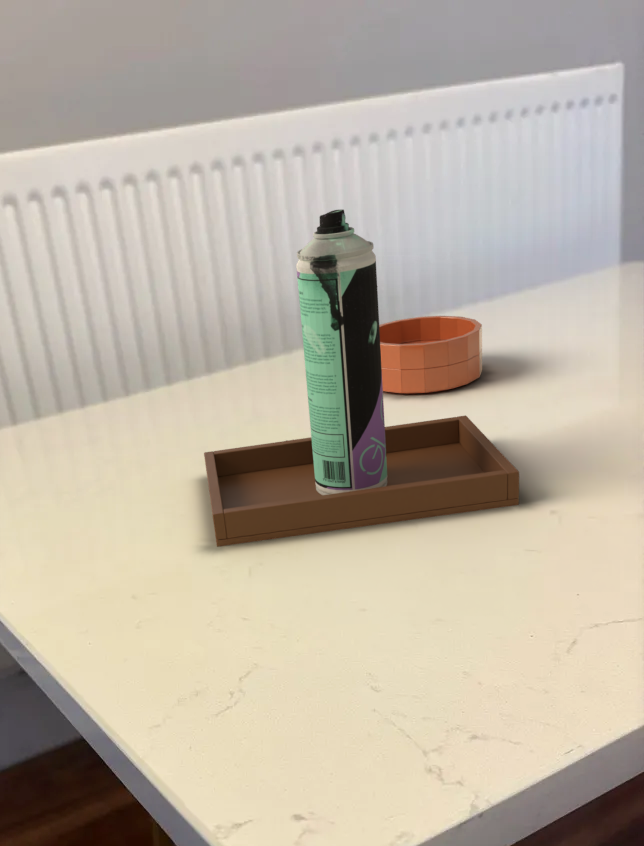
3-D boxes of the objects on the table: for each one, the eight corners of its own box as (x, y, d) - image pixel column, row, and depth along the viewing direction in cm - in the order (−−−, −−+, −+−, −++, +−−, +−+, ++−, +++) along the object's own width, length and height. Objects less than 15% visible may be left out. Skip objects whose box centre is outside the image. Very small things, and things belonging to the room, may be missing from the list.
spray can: (393, 493, 76) (379, 210, 67) (320, 503, 76) (295, 222, 67) (381, 468, 81) (366, 200, 72) (312, 477, 81) (288, 212, 72)
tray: (466, 445, 85) (466, 415, 84) (519, 506, 73) (519, 471, 72) (207, 481, 85) (203, 452, 84) (217, 548, 73) (212, 514, 72)
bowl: (464, 358, 108) (463, 310, 105) (495, 386, 98) (495, 334, 95) (357, 373, 108) (354, 326, 106) (378, 403, 98) (376, 351, 96)
